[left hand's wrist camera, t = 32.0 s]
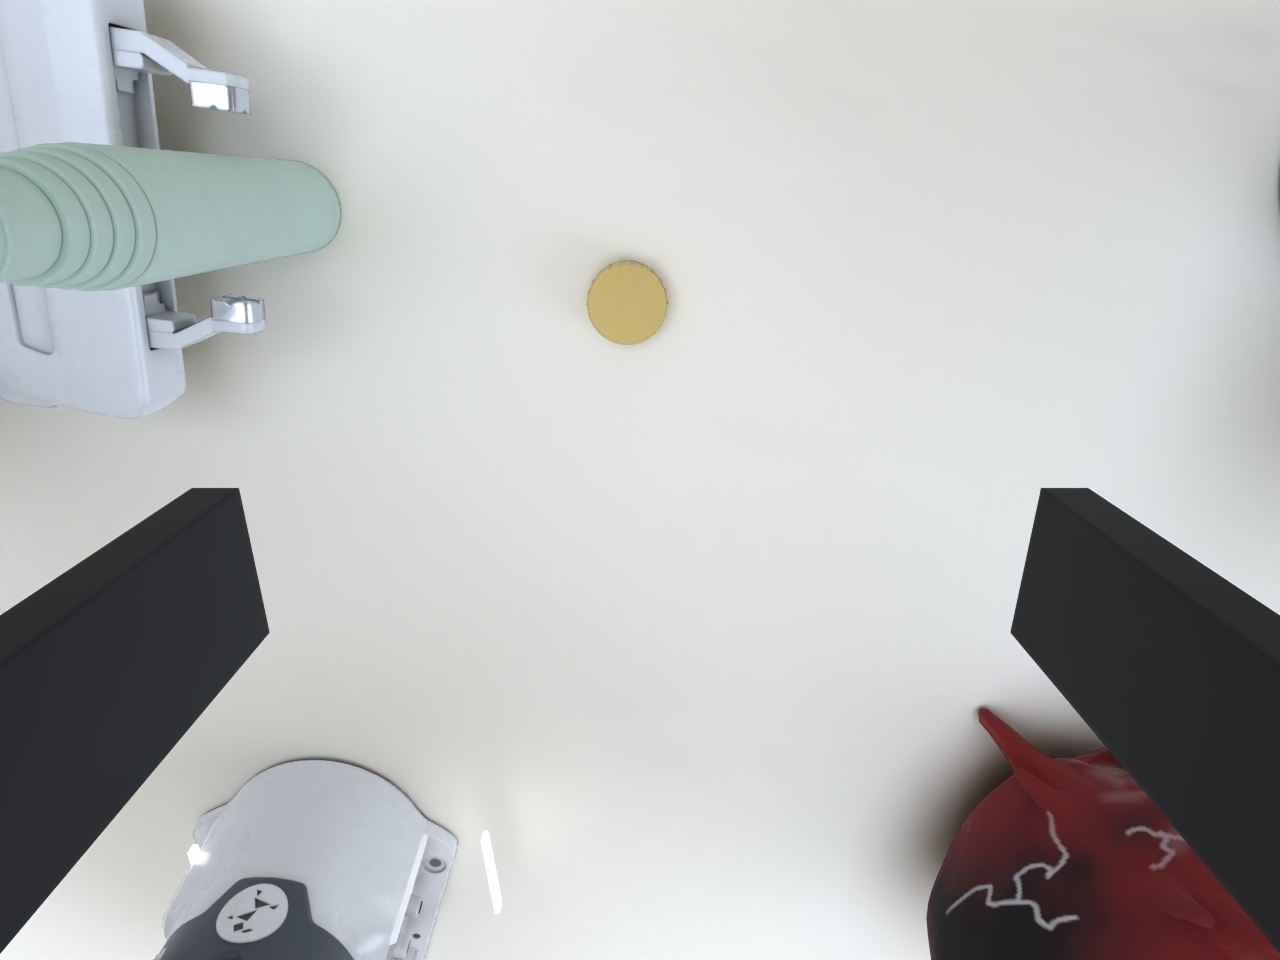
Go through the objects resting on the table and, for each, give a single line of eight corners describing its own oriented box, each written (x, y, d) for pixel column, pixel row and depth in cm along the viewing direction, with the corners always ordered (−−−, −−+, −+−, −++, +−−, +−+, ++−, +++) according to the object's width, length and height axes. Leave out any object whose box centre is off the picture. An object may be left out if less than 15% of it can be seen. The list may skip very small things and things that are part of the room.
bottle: (237, 178, 39) (-211, 165, 18) (315, 147, 38) (-52, 98, 18) (280, 264, 40) (-87, 342, 20) (356, 235, 40) (61, 285, 19)
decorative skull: (1563, 935, 40) (1308, 948, 30) (1361, 1266, 44) (1079, 1370, 34) (1177, 717, 59) (946, 682, 50) (1060, 960, 63) (826, 972, 54)
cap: (576, 321, 42) (574, 326, 40) (606, 247, 40) (605, 249, 39) (647, 352, 42) (647, 358, 41) (679, 279, 41) (680, 283, 39)
